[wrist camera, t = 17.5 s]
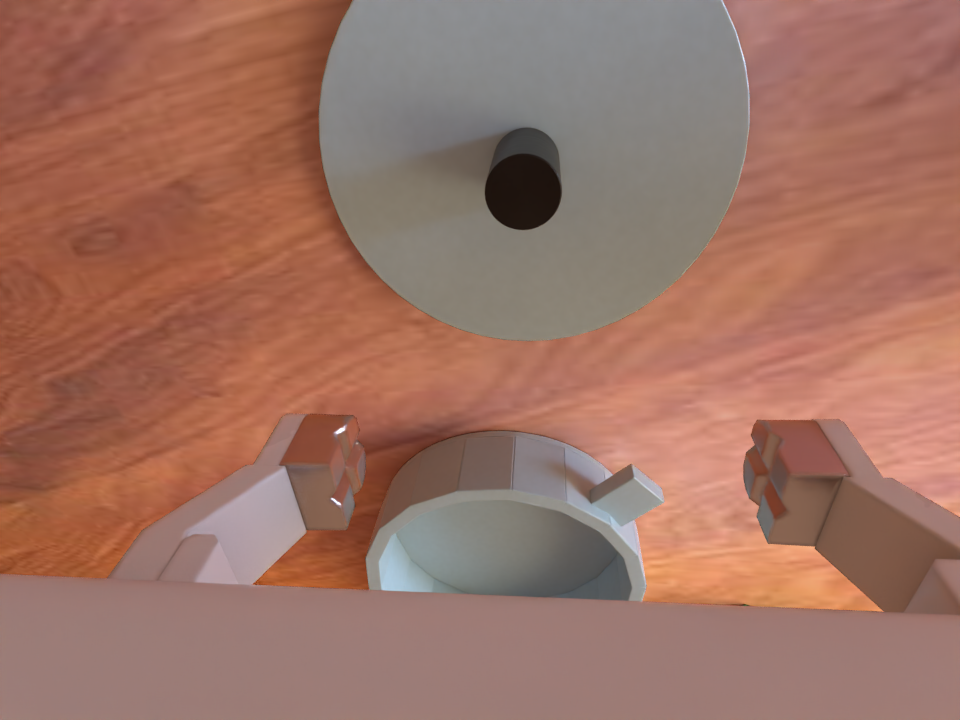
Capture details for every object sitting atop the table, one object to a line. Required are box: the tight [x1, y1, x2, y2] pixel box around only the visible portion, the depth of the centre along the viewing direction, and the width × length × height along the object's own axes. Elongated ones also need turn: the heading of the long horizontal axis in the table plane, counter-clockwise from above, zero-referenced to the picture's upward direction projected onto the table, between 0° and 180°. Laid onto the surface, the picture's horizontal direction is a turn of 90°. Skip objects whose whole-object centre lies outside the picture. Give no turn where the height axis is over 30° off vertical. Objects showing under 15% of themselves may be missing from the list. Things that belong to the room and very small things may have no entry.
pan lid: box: [319, 0, 750, 341], centre depth 21 cm, size 17×17×5 cm
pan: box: [365, 431, 664, 601], centre depth 34 cm, size 16×21×4 cm
